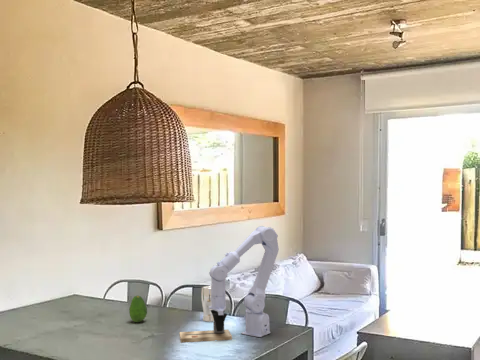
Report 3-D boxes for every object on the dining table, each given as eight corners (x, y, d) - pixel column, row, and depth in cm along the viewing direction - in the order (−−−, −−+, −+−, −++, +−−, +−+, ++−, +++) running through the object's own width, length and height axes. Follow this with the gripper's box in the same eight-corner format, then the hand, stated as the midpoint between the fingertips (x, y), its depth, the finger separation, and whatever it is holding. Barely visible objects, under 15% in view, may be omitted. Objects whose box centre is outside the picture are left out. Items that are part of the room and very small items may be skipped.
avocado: (126, 323, 243) (126, 296, 244) (133, 319, 251) (133, 293, 251) (143, 324, 242) (142, 297, 242) (150, 320, 249) (149, 294, 249)
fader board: (228, 333, 225) (228, 329, 225) (231, 339, 215) (231, 335, 215) (179, 335, 222) (179, 331, 222) (180, 342, 212) (180, 338, 212)
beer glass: (198, 321, 247) (198, 287, 247) (206, 317, 253) (206, 285, 253) (212, 322, 243) (211, 289, 244) (219, 319, 250) (219, 286, 250)
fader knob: (223, 331, 221) (223, 321, 221) (224, 332, 219) (224, 322, 219) (213, 331, 221) (213, 321, 221) (214, 333, 218) (214, 323, 218)
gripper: (206, 292, 226) (206, 325, 226) (210, 299, 212) (211, 334, 212) (223, 291, 228) (223, 324, 227) (228, 298, 213) (228, 333, 213)
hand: (218, 329), depth 220 cm, fingers open, 5 cm apart
